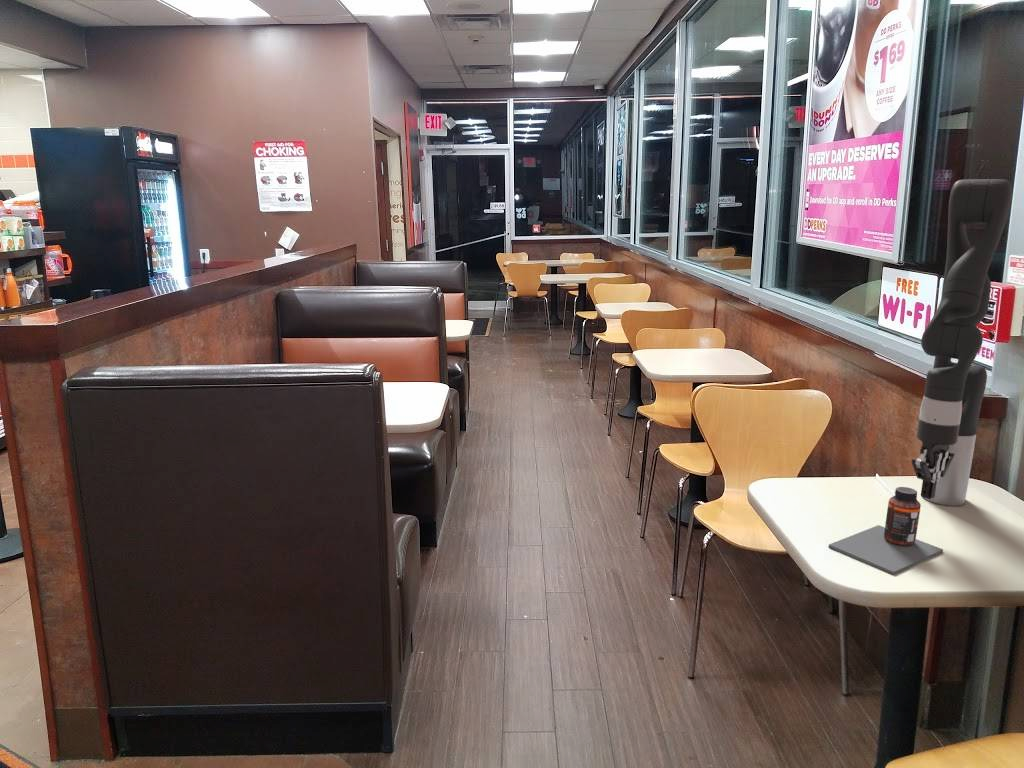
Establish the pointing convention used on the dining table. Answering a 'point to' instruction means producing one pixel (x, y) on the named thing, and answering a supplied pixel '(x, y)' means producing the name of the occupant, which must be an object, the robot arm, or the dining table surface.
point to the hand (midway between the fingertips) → (927, 497)
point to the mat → (884, 550)
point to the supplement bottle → (902, 517)
